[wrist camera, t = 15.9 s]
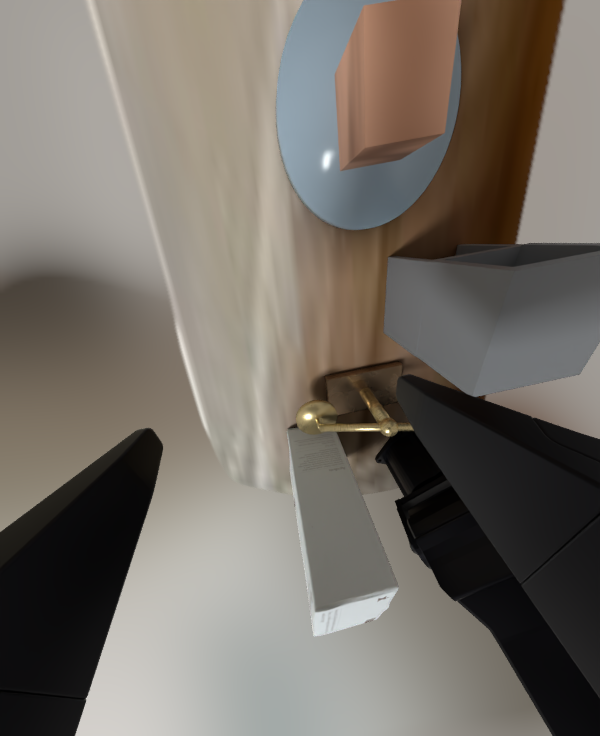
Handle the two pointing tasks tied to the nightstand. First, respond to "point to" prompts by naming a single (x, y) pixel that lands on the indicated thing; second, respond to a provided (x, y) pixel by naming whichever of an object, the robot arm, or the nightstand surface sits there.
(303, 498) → the skincare box
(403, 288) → the empty hood
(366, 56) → the block
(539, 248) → the covering hood
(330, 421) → the balance
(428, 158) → the dish
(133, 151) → the nightstand surface
